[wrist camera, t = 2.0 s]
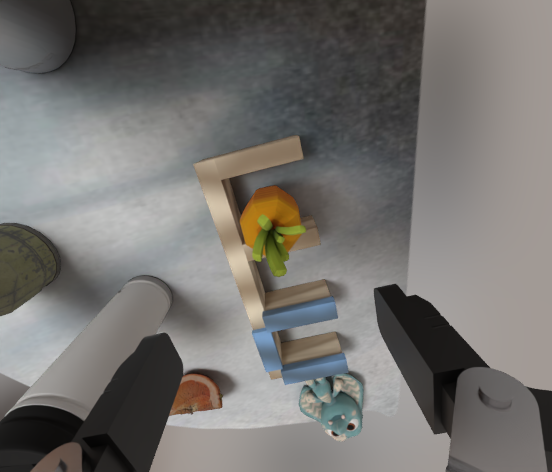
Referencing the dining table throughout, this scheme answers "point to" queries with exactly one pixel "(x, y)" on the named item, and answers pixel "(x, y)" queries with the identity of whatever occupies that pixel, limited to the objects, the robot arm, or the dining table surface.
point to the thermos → (24, 265)
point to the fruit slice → (196, 395)
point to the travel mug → (80, 375)
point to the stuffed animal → (334, 405)
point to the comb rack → (259, 304)
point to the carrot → (271, 226)
